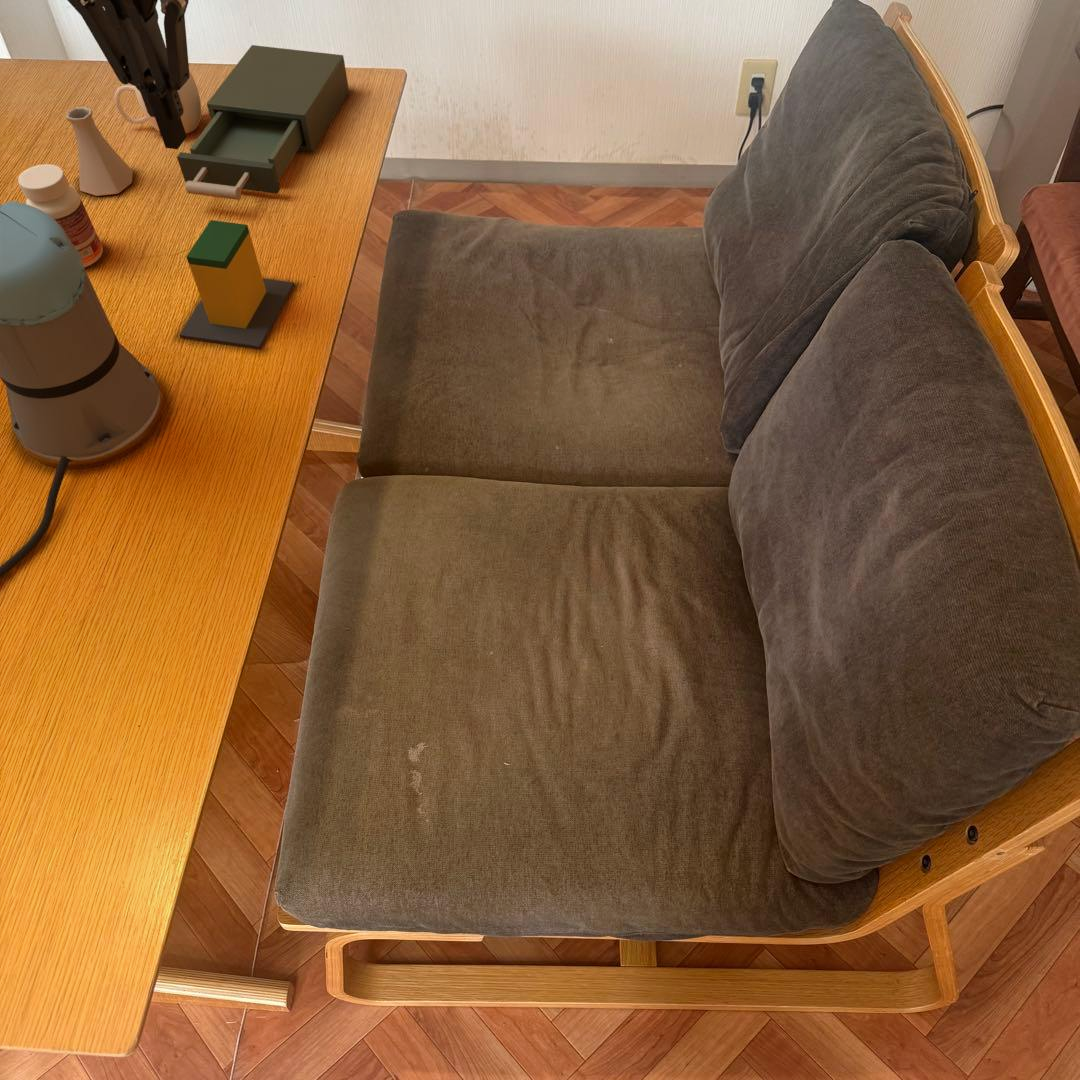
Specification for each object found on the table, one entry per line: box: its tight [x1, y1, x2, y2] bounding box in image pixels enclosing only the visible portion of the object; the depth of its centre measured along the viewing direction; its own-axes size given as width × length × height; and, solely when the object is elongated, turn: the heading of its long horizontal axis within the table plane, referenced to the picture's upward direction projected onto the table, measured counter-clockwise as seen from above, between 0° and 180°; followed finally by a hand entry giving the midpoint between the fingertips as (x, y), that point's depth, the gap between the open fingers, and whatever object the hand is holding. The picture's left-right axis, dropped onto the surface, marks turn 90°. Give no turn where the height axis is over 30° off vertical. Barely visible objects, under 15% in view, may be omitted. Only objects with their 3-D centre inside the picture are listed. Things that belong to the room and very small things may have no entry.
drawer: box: [176, 110, 304, 201], centre depth 124 cm, size 22×13×4 cm, turn 170°
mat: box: [179, 277, 296, 350], centre depth 109 cm, size 12×10×1 cm
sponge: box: [186, 219, 266, 329], centre depth 105 cm, size 7×4×10 cm, turn 170°
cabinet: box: [206, 44, 350, 153], centre depth 133 cm, size 18×15×6 cm
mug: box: [114, 70, 202, 135], centre depth 130 cm, size 12×8×8 cm
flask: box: [65, 106, 134, 197], centre depth 120 cm, size 7×7×10 cm
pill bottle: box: [17, 163, 104, 268], centre depth 110 cm, size 6×6×11 cm
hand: (176, 142), depth 106 cm, fingers closed
